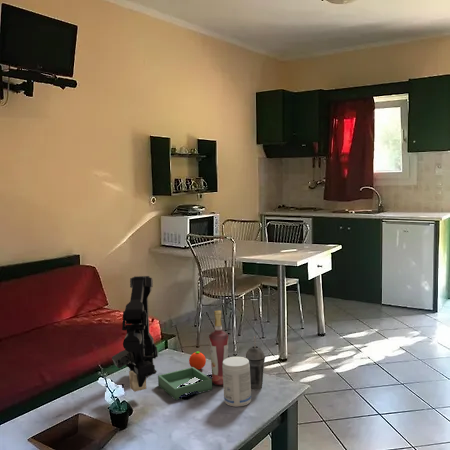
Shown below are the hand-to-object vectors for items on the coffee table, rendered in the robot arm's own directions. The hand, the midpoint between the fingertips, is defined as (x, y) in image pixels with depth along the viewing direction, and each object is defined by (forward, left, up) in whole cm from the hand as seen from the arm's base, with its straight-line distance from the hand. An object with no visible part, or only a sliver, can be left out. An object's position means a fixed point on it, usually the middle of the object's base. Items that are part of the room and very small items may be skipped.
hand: (137, 384), depth 184 cm
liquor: (+5, +31, -6) cm, 32 cm away
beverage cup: (+16, +40, -6) cm, 43 cm away
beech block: (0, 0, -1) cm, 1 cm away
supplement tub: (+22, +28, -6) cm, 36 cm away
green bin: (+1, +18, -5) cm, 19 cm away
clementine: (-13, +31, -6) cm, 34 cm away
